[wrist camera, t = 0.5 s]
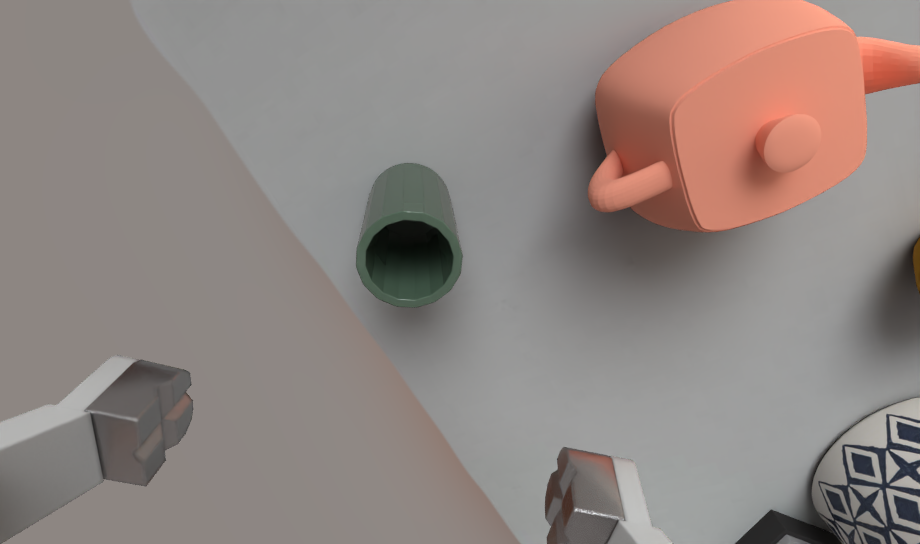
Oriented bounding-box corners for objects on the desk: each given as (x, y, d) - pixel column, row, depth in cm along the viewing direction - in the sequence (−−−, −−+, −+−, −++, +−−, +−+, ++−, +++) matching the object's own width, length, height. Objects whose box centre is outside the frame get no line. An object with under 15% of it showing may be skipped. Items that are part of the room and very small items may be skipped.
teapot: (578, 235, 39) (641, 318, 28) (521, 81, 34) (572, 111, 23) (844, 119, 37) (1022, 161, 26) (826, -63, 32) (1038, -104, 21)
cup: (426, 251, 39) (431, 322, 30) (356, 218, 37) (339, 282, 28) (464, 185, 37) (481, 240, 28) (391, 148, 35) (384, 192, 26)
